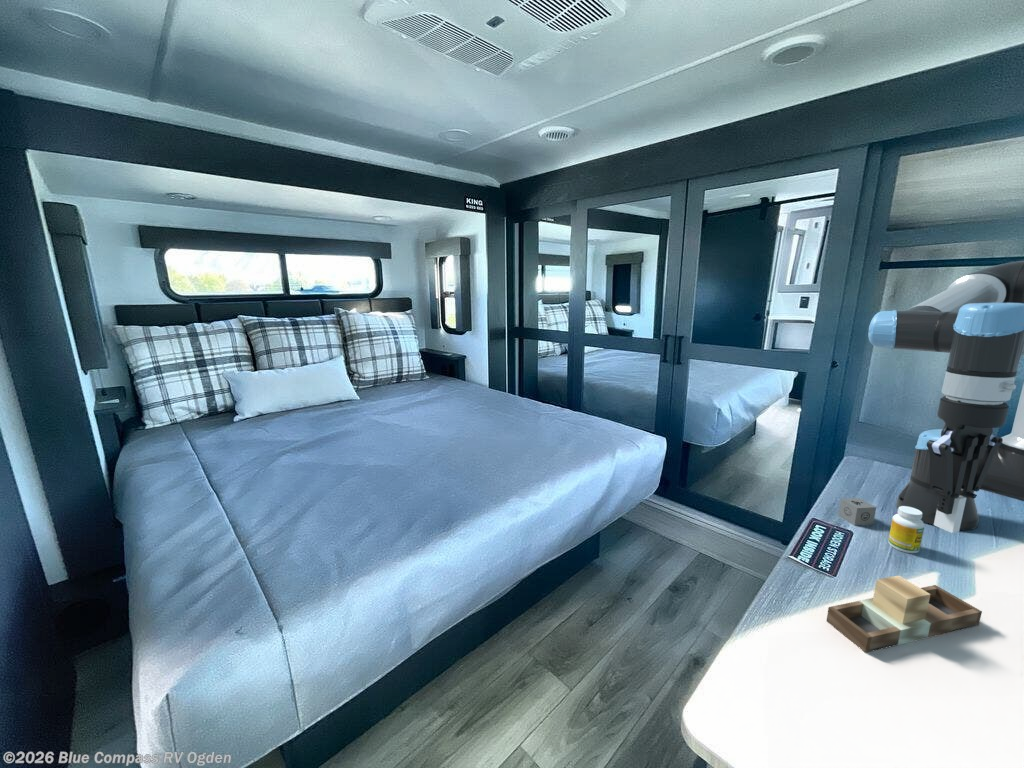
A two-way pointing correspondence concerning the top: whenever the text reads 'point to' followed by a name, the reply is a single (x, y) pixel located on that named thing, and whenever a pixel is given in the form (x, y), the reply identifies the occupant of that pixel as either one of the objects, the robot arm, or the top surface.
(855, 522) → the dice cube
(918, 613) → the oak block
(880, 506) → the top surface
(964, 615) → the board
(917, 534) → the supplement bottle
